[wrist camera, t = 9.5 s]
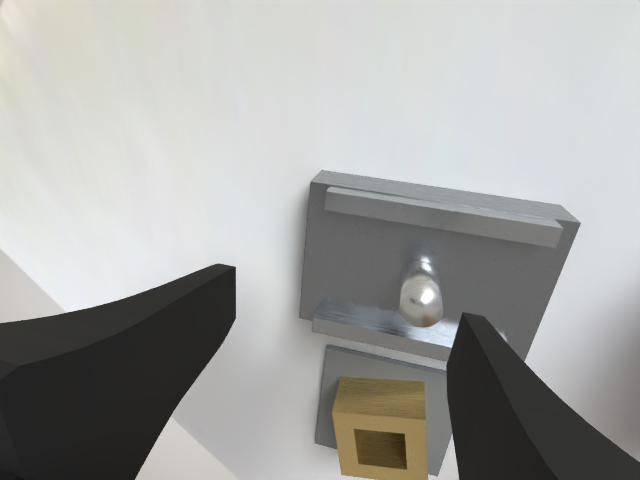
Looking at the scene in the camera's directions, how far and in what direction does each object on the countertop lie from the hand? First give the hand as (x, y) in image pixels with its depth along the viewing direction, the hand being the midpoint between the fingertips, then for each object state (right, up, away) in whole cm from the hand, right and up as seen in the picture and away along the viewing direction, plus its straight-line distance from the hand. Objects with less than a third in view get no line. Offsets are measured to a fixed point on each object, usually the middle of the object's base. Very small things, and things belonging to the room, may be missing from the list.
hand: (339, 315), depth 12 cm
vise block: (+5, +1, +9) cm, 11 cm away
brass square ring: (+4, -9, +14) cm, 17 cm away
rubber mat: (+4, -9, +14) cm, 17 cm away
